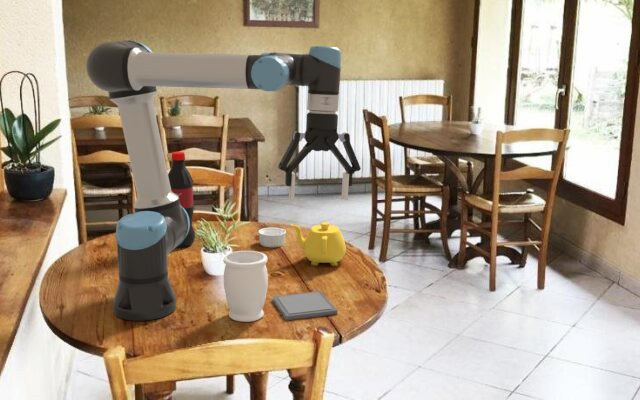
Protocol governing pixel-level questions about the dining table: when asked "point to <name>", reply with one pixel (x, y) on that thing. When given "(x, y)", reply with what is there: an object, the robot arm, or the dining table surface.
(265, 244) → the ramekin
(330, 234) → the teapot
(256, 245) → the dining table surface
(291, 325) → the dining table surface
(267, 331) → the dining table surface
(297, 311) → the plate
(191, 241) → the cola bottle
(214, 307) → the dining table surface
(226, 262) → the jar
